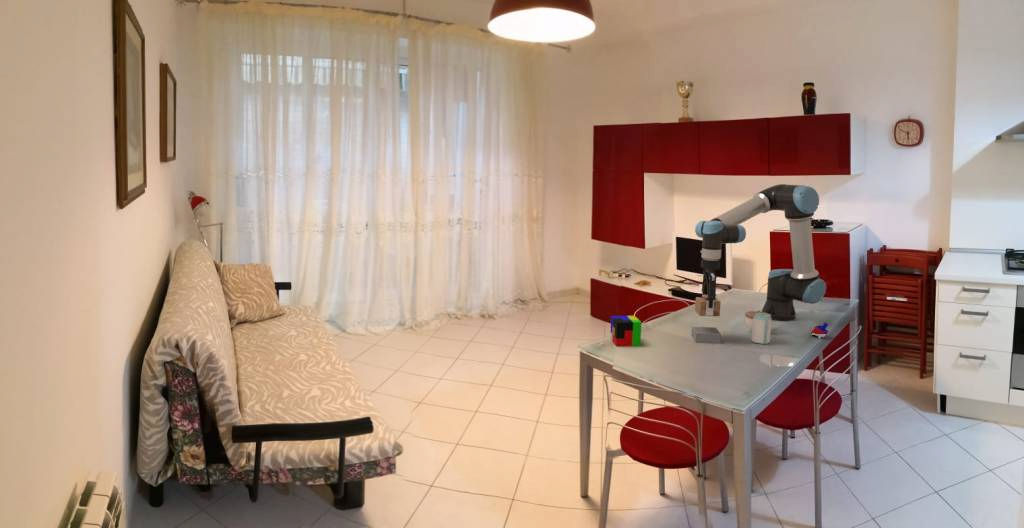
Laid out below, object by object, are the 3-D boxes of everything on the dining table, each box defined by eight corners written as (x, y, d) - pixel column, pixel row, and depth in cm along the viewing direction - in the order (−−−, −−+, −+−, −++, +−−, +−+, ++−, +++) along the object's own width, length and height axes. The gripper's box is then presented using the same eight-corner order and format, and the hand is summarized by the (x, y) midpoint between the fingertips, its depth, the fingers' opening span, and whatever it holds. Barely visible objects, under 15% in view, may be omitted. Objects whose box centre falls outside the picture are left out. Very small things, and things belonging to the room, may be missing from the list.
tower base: (715, 336, 266) (715, 327, 266) (720, 343, 257) (721, 334, 256) (691, 335, 267) (691, 326, 267) (695, 342, 258) (696, 333, 257)
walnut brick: (714, 311, 264) (715, 297, 263) (719, 316, 256) (720, 302, 255) (694, 310, 264) (695, 297, 263) (699, 315, 256) (700, 301, 255)
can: (748, 339, 262) (750, 312, 260) (764, 339, 263) (766, 311, 260) (756, 345, 255) (758, 316, 253) (772, 344, 256) (775, 316, 254)
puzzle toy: (610, 339, 262) (611, 316, 260) (633, 338, 263) (634, 315, 261) (616, 346, 252) (617, 322, 250) (640, 346, 253) (641, 322, 251)
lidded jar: (769, 329, 278) (771, 308, 276) (770, 336, 268) (772, 314, 266) (743, 327, 281) (745, 306, 279) (744, 333, 271) (745, 312, 269)
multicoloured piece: (817, 341, 265) (826, 327, 261) (809, 335, 268) (818, 321, 264) (822, 340, 267) (831, 326, 263) (814, 333, 270) (824, 320, 265)
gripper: (696, 254, 266) (693, 306, 270) (706, 263, 246) (702, 318, 250) (714, 254, 266) (711, 306, 270) (726, 263, 245) (722, 319, 249)
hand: (707, 312), depth 260 cm, fingers closed on walnut brick, 8 cm apart
